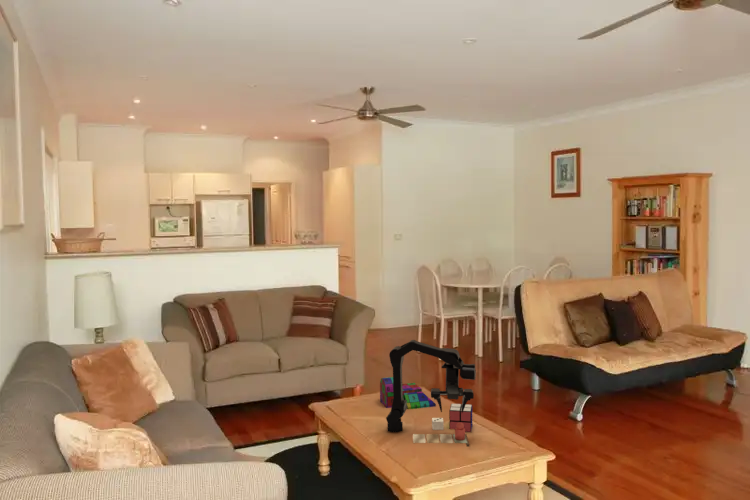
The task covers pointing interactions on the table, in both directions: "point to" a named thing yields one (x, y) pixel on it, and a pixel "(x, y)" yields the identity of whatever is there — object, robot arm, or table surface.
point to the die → (437, 424)
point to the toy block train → (404, 395)
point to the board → (435, 438)
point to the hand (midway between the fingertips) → (451, 412)
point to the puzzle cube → (460, 416)
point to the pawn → (460, 431)
